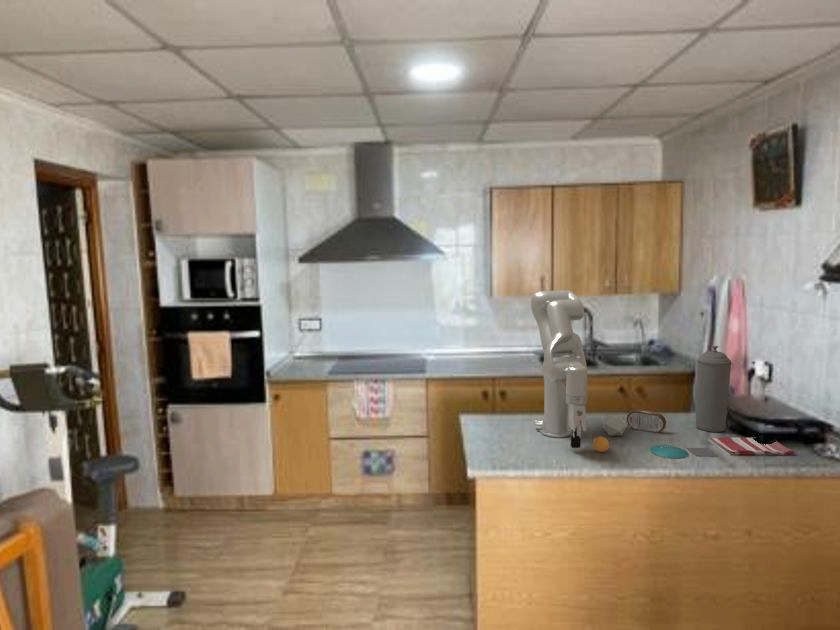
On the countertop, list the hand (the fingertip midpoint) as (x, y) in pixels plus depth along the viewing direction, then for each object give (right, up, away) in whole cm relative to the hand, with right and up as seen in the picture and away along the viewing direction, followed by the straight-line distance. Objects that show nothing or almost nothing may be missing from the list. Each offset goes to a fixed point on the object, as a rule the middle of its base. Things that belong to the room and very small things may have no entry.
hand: (575, 447), depth 207 cm
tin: (+35, +1, +23) cm, 42 cm away
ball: (+9, +1, 0) cm, 9 cm away
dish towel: (+67, -2, +3) cm, 67 cm away
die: (+21, 0, +19) cm, 28 cm away
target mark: (+34, -2, -1) cm, 34 cm away
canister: (+63, +2, +24) cm, 68 cm away
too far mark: (+46, -2, -2) cm, 46 cm away
